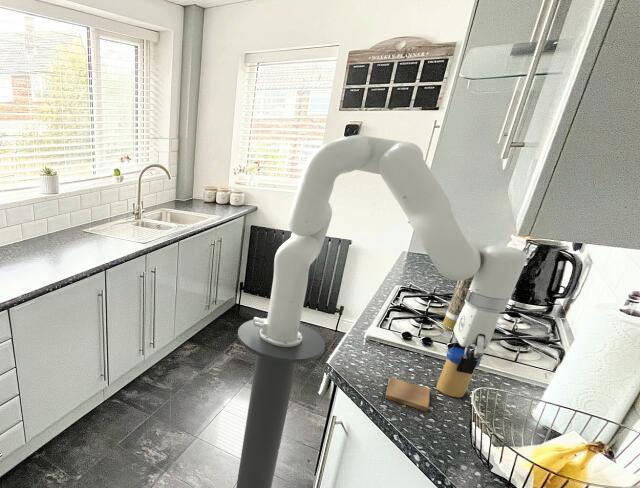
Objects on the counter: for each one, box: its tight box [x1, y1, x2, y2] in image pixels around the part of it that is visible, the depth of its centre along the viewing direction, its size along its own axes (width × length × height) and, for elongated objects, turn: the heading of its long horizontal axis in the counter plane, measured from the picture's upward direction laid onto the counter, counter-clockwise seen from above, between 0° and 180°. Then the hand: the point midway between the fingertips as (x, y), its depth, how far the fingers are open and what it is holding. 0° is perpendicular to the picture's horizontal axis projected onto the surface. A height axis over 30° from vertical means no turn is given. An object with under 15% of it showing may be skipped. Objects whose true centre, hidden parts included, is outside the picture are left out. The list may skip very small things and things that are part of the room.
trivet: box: [384, 377, 431, 412], centre depth 106 cm, size 9×9×1 cm
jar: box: [435, 357, 477, 398], centre depth 106 cm, size 6×6×10 cm
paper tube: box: [442, 276, 474, 333], centre depth 133 cm, size 7×7×25 cm
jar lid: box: [445, 347, 482, 368], centre depth 104 cm, size 7×7×2 cm
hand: (460, 364), depth 105 cm, fingers closed on jar lid, 6 cm apart
